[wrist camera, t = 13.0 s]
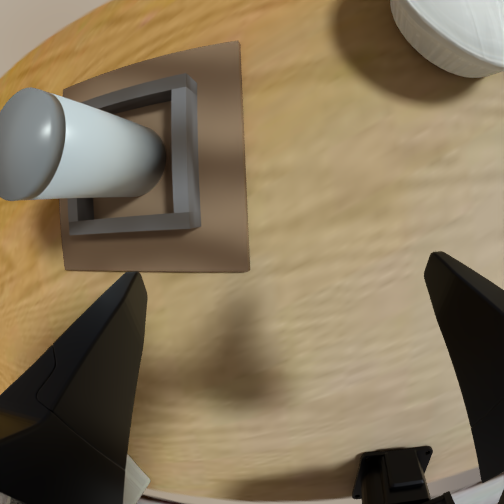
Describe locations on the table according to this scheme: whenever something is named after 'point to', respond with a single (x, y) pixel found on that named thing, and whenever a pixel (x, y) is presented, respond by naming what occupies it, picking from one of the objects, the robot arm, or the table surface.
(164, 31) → the table surface
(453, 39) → the ramekin
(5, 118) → the grey cylinder
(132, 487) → the small box
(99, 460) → the robot arm
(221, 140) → the jig board
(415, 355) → the table surface
